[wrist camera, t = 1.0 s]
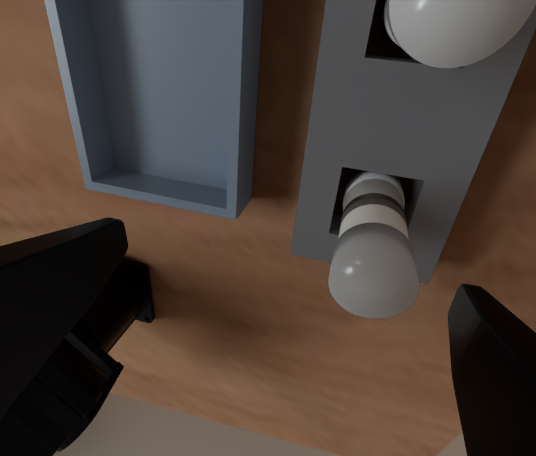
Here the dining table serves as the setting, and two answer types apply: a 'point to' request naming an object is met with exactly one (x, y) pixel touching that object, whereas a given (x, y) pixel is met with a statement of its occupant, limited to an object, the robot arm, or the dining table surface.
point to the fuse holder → (396, 130)
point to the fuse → (454, 28)
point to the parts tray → (163, 97)
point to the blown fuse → (373, 249)
